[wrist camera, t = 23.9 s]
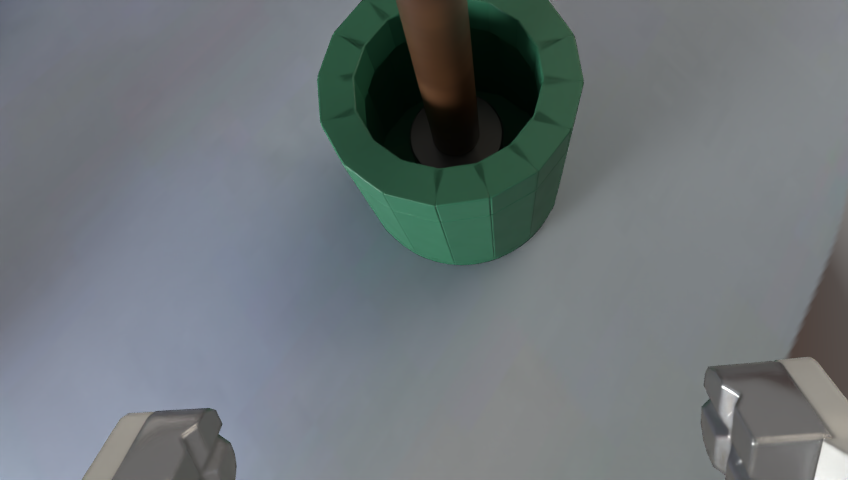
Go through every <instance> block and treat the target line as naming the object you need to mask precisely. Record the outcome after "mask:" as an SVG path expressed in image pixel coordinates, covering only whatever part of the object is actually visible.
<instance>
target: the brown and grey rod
mask: <svg viewBox="0 0 848 480" xmlns="http://www.w3.org/2000/svg"><path fill="white" fill-rule="evenodd" d="M396 3H397V7H398V11H399V15H400V18H401V22H402V26H403V30H404V33H405V37H406V41H407V45H408V48H409V52H410V56H411V60H412V63H413V67H414V71H415V74H416V78H417V82H418V86H419V89H420V93H421V97H422V101H423V104H424V106H423V107H422V109H421V110H420V111H419V112H418V113H417V115H416V117H415V118H414V120H413V123H412V126H411V129H410V146H411V150H412V153H413V155H414V158H415V161H416V163H417V164H421V165H426V166H430V167H435V168H439V169H440V168H446V167H453V166H460V165H467V164H473V163H478V162H479V161H481V160H483V159H485V158H487V157H488V156H490V155H492V154H494V153H495V152H497V151H499V150H501V149H503V148H504V143H503V126H502V122H501V119H500V117H499V115H498V113H497V112H496V110H495V109H494V108H493V107H492V106H491V105H490V104H489V103H488V102H487V101H485V100H484V99H482V98H480V97H478V96H476V89H475V78H474V67H473V57H472V46H471V35H470V24H469V14H468V3H467V0H396Z"/></svg>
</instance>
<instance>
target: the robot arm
mask: <svg viewBox="0 0 848 480" xmlns="http://www.w3.org/2000/svg"><path fill="white" fill-rule="evenodd" d="M704 388H705V390H706V392H707V394H708V396H709V398H710V399H709V400H708V401H707V402H706V403H705V404H704V405H703V406H702V409H701V428H702V435H703V441H704V444H705V447H706V451H707V454H708V456H709V458H710V461H711V463H712V465H713V467H714V468H716V469H717V470H719V471H720V472H721V473H723V474H724V475H726V477H725V480H848V400H847V399H846V398H845V397H844V395H843V394H842V393H841V392H840V390H839V389H838V388H837V386H836V385H835V384H834V383H833V381H832V380H831V379H830V377H829V376H828V375H827V374H826V372H825V371H824V370H823V369H822V367H821V366H820V365H819V363H818V362H817V361H816V360H814V359H812V358H811V357H803V358H793V359H782V360H775V361H765V362H754V363H743V364H732V365H721V366H710V367H708V368H707V370H706V372H705V378H704ZM221 426H222V422H221V420H220V418H219V416H218V413H217V411H216V410H214V409H210V408H201V409H184V410H166V411H155V412H143V413H128V414H127V415H125V416H124V417H122V418H121V419H120V420H119V422H118V423H117V425H116V426H115V428H114V429H113V431H112V433H111V434H110V436H109V437H108V439H107V440H106V442H105V444H104V445H103V447H102V448H101V450H100V452H99V453H98V455H97V456H96V458H95V459H94V461H93V463H92V464H91V466H90V467H89V469H88V470H87V472H86V474H85V475H84V477H83V478H82V480H235V477H236V459H235V453H234V450H233V448H232V445H231V443H230V442H229V441H227V440H226V439H225V438H223V437H222V436H220V435H219V431H220V429H221Z"/></svg>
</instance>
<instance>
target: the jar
mask: <svg viewBox="0 0 848 480" xmlns="http://www.w3.org/2000/svg"><path fill="white" fill-rule="evenodd" d="M467 3H468V14H469V24H470V35H471V46H472V57H473V67H474V78H475V89H476V96H478V97H480V98H482V99H484V100H485V101H487V102H488V103H489V104H490V105H491V106H492V107H493V108H494V109H495V110H496V112H497V113H498V115H499V117H500V119H501V122H502V126H503V143H504V148H503V149H501V150H499V151H497V152H495V153H494V154H492V155H490V156H488V157H487V158H485V159H483V160H481V161H479V162H478V163H473V164H467V165H460V166H453V167H446V168H440V169H439V168H435V167H430V166H426V165H421V164H417V163H416V161H415V158H414V155H413V153H412V150H411V146H410V129H411V126H412V123H413V120H414V118H415V117H416V115H417V113H418V112H419V111H420V110H421V109H422V107H423V106H424V104H423V101H422V97H421V93H420V89H419V86H418V82H417V78H416V74H415V71H414V67H413V63H412V60H411V56H410V52H409V48H408V45H407V41H406V37H405V33H404V30H403V26H402V22H401V18H400V15H399V11H398V7H397V3H396V0H362V1H361V2H360V3H359V4H358V6H357V7H356V8H355V9H354V10H353V11H352V12H351V14H350V15H349V16H348V17H347V18H346V19H345V20H344V22H343V23H342V24H341V25H340V26H339V27H338V28H337V30H336V31H335V32H334V34H333V35H332V38H331V41H330V43H329V46H328V49H327V52H326V54H325V57H324V60H323V63H322V65H321V68H320V71H319V74H318V79H317V83H318V98H319V113H320V123H321V126H322V128H323V130H324V132H325V133H326V135H327V137H328V139H329V141H330V142H331V144H332V146H333V148H334V150H335V152H336V153H337V155H338V157H339V159H340V161H341V162H342V164H343V166H344V167H345V169H346V170H347V172H348V173H349V175H350V176H351V178H352V179H353V181H354V182H355V184H356V185H357V187H358V188H359V190H360V191H361V193H362V194H363V196H364V197H365V199H366V200H367V202H368V203H369V205H370V206H371V208H372V209H373V211H374V212H375V214H376V215H377V217H378V219H379V220H380V222H381V223H382V225H383V226H384V228H385V229H386V230H387V231H388V232H389V233H390V234H391V235H393V237H394V238H395V239H396V240H398V241H399V242H400V243H401V244H402V245H403V246H405V247H406V248H408V249H409V250H411V251H412V252H414V253H416V254H418V255H420V256H422V257H424V258H427V259H430V260H433V261H436V262H440V263H446V264H454V265H469V264H478V263H483V262H488V261H491V260H494V259H497V258H500V257H502V256H504V255H506V254H508V253H510V252H512V251H514V250H515V249H517V248H518V247H520V246H521V245H523V244H524V243H525V242H526V241H528V240H529V239H530V238H531V237H532V236H533V235H534V234H535V233H536V232H537V231H538V229H539V228H540V227H541V226H542V224H543V223H544V221H545V220H546V218H547V217H548V215H549V213H550V211H551V210H552V209H553V206H554V203H555V199H556V195H557V192H558V188H559V184H560V180H561V176H562V172H563V167H564V163H565V159H566V155H567V151H568V147H569V142H570V138H571V134H572V130H573V126H574V122H575V118H576V113H577V109H578V105H579V101H580V97H581V93H582V88H583V84H584V82H583V81H584V80H583V75H582V70H581V65H580V60H579V55H578V50H577V45H576V40H575V36H574V34H573V33H572V31H571V30H570V29H569V27H568V26H567V24H566V23H565V22H564V20H563V19H562V18H561V16H560V15H559V14H558V12H557V11H556V10H555V8H554V7H553V6H552V4H551V3H550V2H549V0H467Z"/></svg>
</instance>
